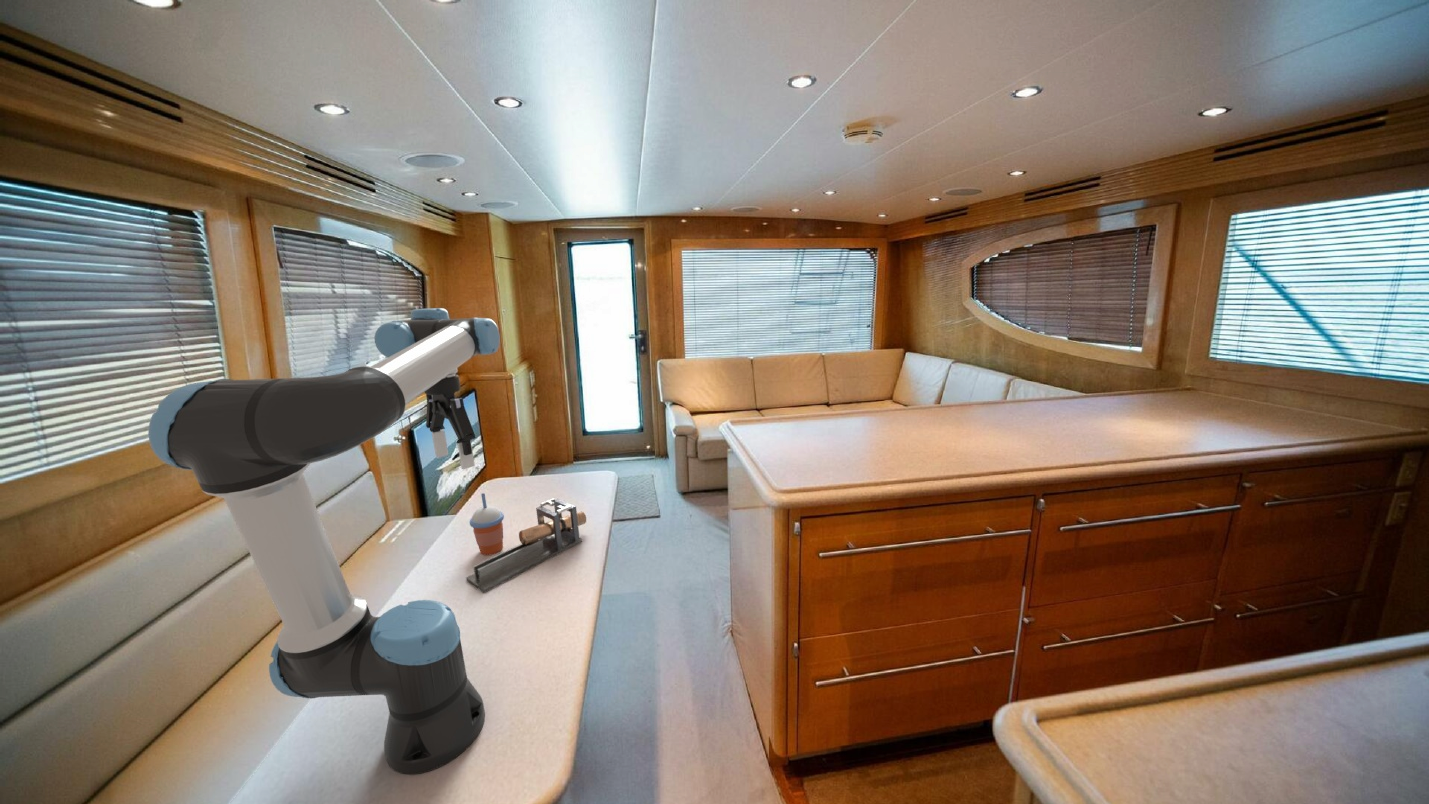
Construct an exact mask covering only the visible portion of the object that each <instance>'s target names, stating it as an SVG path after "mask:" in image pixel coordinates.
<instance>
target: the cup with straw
mask: <svg viewBox="0 0 1429 804" xmlns="http://www.w3.org/2000/svg"><path fill="white" fill-rule="evenodd" d="M485 493H486V492H483V493H481V494H480V495H481V502H482V507H479V508H477V509H476V510H475V511H474V513H473V515H472V516H471V518H470V519H469V525H470V527H471V528H473V534H474V538H475V542H476V545H477V546H478V549H479V552H480V555H482V556H492V555H495V554H496V555H497V554H498V553H499V552H501V551H502V550H503V548H504V542H503V541H504V540H503V539H504V524H503V520H504V518H505V515H504V513H503V511H501V510H499V509H498V508H497V507H496V506H493V505H487V500H486V495H485Z"/></svg>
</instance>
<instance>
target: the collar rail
mask: <svg viewBox="0 0 1429 804" xmlns="http://www.w3.org/2000/svg"><path fill="white" fill-rule="evenodd" d="M539 505H540V506H538V507H536V508H535V512H536V517H537V518H536V519H537V525H540V524H544V523H546V522H545V518H548V519H550V520H551V521H553V527H554V535H551V536H548V537H545V538H543V539H540V540H537V541H534V542H531V543H528V544H525V545H523V544H522V543H520V544H518V545H515V546H514V547H511V548H509V549H507V550H505V551H503V552H501V553H499V554H498V553H497V554H496V555H495V556H492V557H490V558H488V559H486V560H484V561H481V562H479V563H478V564H476V565H473V567H472V568H473V572H474V573H472V574H471V575H468V576H466V577H465V578H466V582H468V583H469V584H471V585H472V586H473V587H474V588H476V590H477V589H478V590H479V591H480V592H481V593H484V594H485V593H486V592H488V591H490V590H492V589H494V588H496V587H498V586H500V585H501V584H504V583H505V582H508V581H510V580H511V579H513V578H516V577H517V576H519V575H521V574H523V573H525V572H527V571H529V570H531V569H533V568H534V567H536V566H538V565H540V564H542V563H544V562H546V561H548V560H550V559H551V558H553V557H555V556H557V555H560V554H562V553H563V552H565V551H567V550H569V549H571V548H572V547H576V545H579V544H580V543H582V542H583V539H582V538H581V537H580V530H579V526H578V519H577V513H578V512H577V506H576V505H574V504H572V503H569V502H566V501H565V500H562V499H559V498H556V499H555V497H554V498H550V499H547V500H545V501H543V502H541V503H539ZM544 506H550V507H553V506H554V510H551V509H548V508H546V507H544ZM566 511H567V512H570V513H569V515H571V523H572V528H571V529H568V530H566V531H564V532H561V530H560V521H559V518H562V517H563V515H562V513H564V512H566Z"/></svg>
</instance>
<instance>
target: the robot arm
mask: <svg viewBox="0 0 1429 804" xmlns="http://www.w3.org/2000/svg"><path fill="white" fill-rule="evenodd" d="M500 342H501V337H500V332H499V327H498V325H497V324H496V322H495V321H494V320H493V319H491V318H485V317H476V316H475V317H471V318H450V315H449V312H448V310H447V309H445V308H443V307H442V308H441V307H438V308H437V307H436V308H435V307H434V308H417V309H412V311H411V312H410V319H406V320H391V321H390V322H386V323H383V324H381V325H380V326H379V327H378V328H377V330H375V333H374V344H375V347H376V349H377V351H378V352H379V353H380V354H381V355H383V356H384V357H385V359H383V360H381V361H378V362H377V363H374V364H373V365H371V366H367V365H361V366H356V367H351V368H349V369H348V370H345V371H344V372H341V373H336V374H333V375H332V374H331V375H322V376H320V375H319V376H311V377H288V378H261V379H258V378H257V379H256V378H255V379H231V378H220V379H216V380H210V381H199V382H193V383H189V384H186V385H182V386H181V387H178V388H176V389H175V390H173V391H171V392H170V393H168V395H166V396H164V398H163V399H162V400H161V401H160V402H159V404H157V405H158V406H157V407H158V408H157V410H156V411H155V412H153V413H152V415H151V417H150V421H149V424H148V425H149V426H148V441H149V445H150V447H151V449H152V451H153V453H154V454H155V456H156V457H157V458H158V459H159V460H161V461H162V462H163V463H165V464H166V465H169V466H173V467H174V468H178V469H181V470H187V471H189V470H190V471H192V473H193V474H194V477H195V479H196V481H197V483H198V485H199V486H200V488H201V491H202V492H203V493H204V494H206V495H208V496H211V497H212V496H213V497H217V498H223V499H224V502H225V504H226V506H227V507H228V510H229V512H230V514H231V517H232V518H233V521H234V523H235V525H236V527H237V528H238V531H239V534H240V535H241V537H242V539H243V541H244V544H245V546H246V548H247V550H248V552H249V555H250V556H251V559H252V560H253V563H254V565H255V567H256V569H257V571H258V573H259V576H260V578H261V579H262V582H263V584H264V585H265V588H266V590H267V592H268V594H269V596H270V599H271V602H273V605H274V607H275V609H276V612H277V613H278V615H279V617H280V620H281V622H282V624H283V626H282V628H281V629H280V631H279V632H278V635H277V638H276V639H277V641H276V642H275V643H274V646H273V648H272V650H271V654H270V658H272V659H273V660H272V662H270V663H269V665H268V673H269V677H270V680H271V683H272V685H273V686H274V688H275V689H276V690H277V691H278V692H280V693H281V694H283V695H284V696H285V695H286V696H289V697H293V698H295V697H296V698H303V699H311V700H312V699H317V698H318V699H319V698H332V697H333V698H334V697H351V696H352V697H357V696H380V695H381V696H384V697H385V699H386V703H387V708H388V713H389V714H388V720H387V725H386V729H385V730H386V731H385V736H384V741H383V750H384V755H385V758H386V759H385V760H386V762H387V764H388V766H389V767H390V768H391V769H392V770H394V771H395V772H397V773H399V774H405V775H418V774H422V773H423V774H424V773H427V772H431V771H433V770H435V769H438V768H440V767H442V766H444V765H446V764H448V763H449V762H451V761H453V760H454V759H456V758H457V757H458V756H460V755H461V754H462V753H463V752H465V751H466V748H467V749H468V748H469V747H470V746H471V745H472V743H474V741H475V740H476V739H477V737H478V736H479V734H480V732H481V730H482V728H483V727H484V725H485V724H484V723H485V719H486V712H485V705H484V700H483V698H482V696H481V694H480V693H479V692H478V690H477V689H476V688H475V686H474V685H473V683H471V681H470V680H469V678H468V676H467V669H466V664H465V659H464V658H465V657H464V653H463V647H462V641H461V630H460V627H459V624H458V623H457V620H456V616H455V614H454V612H453V611H452V608H450V607H449V606H448V605H447V604H446V603H443V602H441V601H437V600H431V599H422V600H421V599H420V600H413V601H409V602H407V604H405V605H404V604H399V605H396V606H394V607H392V608H390V609H388V610H387V611H385V612H384V613H382V614H381V615H380V616H373V615H372V613H371V611H370V608H369V606H368V603H367V602H366V599H365V598H364V597H362V596H360V595H357V594H351V592H350V590H349V587H348V585H347V582H346V580H345V578H344V575H343V573H342V570H341V567H340V564H339V562H338V559H337V556H336V554H335V552H334V550H333V547H332V544H331V541H330V539H329V536H328V534H327V531H326V528H325V526H324V523H323V520H322V518H321V517H320V514H319V511H318V508H317V507H316V503H315V501H314V498H313V496H312V493H311V491H310V488H309V486H308V483H307V481H306V479H305V476H304V473H305V472H306V470H307V468H308V467H309V466H310V464H312V463H313V464H314V463H317V462H321V461H325V460H328V459H331V458H334V457H337V456H339V455H341V454H343V453H346V452H348V451H350V450H352V449H354V448H356V447H358V446H361V445H362V444H364V443H366V442H367V441H369V440H371V439H373V438H375V437H377V436H378V435H379V434H381V433H382V432H384V431H385V430H387V429H388V428H390V427H391V426H393V424H395V423H396V422H398V421H399V420H400V419H401V418H402V417H403V416H404V414H405V411H406V408H407V405H409V404H410V403H411V402H413V401H415V399H417V398H418V397H420V396H421V395H422V394H423V393H424V394H426V396H425V397H426V421H425V422H426V423H425V428H426V429H429V431H430V432H431V436H432V443H433V448H434V454H435V458H436V459H441V458H443V457H447V456H449V450H448V449H449V448H448V444H447V438H446V432H445V429H446V428H445V426H444V423H445V420H448V421H449V423H450V426H451V428H452V429H453V431H454V433H455V436H456V437H457V440H456V441H455V442H456V444H457V450H458V454H459V461H460V467H461V470H465V469H469V468H471V467H475V461H474V460H475V459H474V452H473V448H472V447H473V446H472V441H473V440H474V439H476V434H475V432H474V428H473V427H472V423H471V421H470V418H469V415H468V413H467V410H466V407H465V403H464V399H463V398H462V397H458V398H456V395H455V394H456V393H458V392H459V391H460V390H461V389H462V387H461V383H460V376H459V375H458V374H457V373H458V371H459V370H458V368H459V367H460V366H462V365H463V364H464V363H466V362H467V361H469V360H470V359H472V358H473V357H474V356H478V355H480V356H486V355H492V354H495V353H497V351H498V349H499V347H500ZM455 757H456V758H455Z"/></svg>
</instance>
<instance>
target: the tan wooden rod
mask: <svg viewBox="0 0 1429 804" xmlns="http://www.w3.org/2000/svg"><path fill="white" fill-rule="evenodd" d="M586 516H587V515H586V513H585V512H584V511H578V512H577V519H578V527H580V526H583V525H585V524H586V523H587V517H586ZM559 521H560V530H561V532H564V531H566V530H568V529H572V523H571V514H569V515H565V516H562V518H559ZM553 535H554V527H553V520H550V521H547V522H545V523H544V524H540V525H538V524H537V525H535V526H532V527H529V528H525V529H522V530H520V531H519V532H518V539H519V542H520V544H523V545H525V544H528V543H531V542H534V541H537V540H540V539H543V538H545V537H548V536H553Z"/></svg>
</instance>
